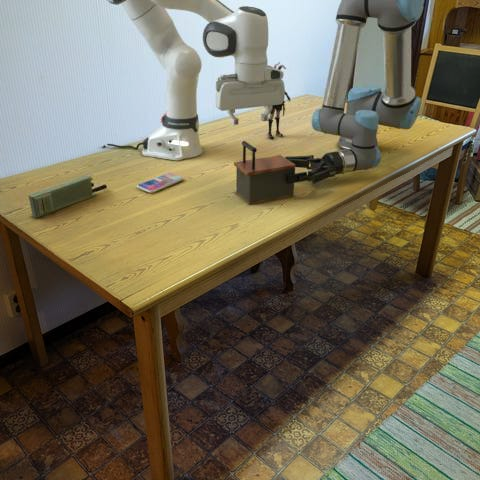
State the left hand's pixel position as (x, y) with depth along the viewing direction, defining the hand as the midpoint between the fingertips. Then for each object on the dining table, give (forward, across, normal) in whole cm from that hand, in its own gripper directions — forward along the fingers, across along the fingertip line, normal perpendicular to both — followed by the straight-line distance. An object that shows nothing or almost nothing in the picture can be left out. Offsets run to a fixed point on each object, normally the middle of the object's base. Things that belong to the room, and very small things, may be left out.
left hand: (249, 122), depth 145 cm
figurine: (+24, +36, +50) cm, 66 cm away
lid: (+14, +5, 0) cm, 15 cm away
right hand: (+17, +10, 0) cm, 20 cm away
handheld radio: (+24, -50, +18) cm, 58 cm away
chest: (+24, +6, 0) cm, 24 cm away
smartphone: (+24, -22, +21) cm, 38 cm away
